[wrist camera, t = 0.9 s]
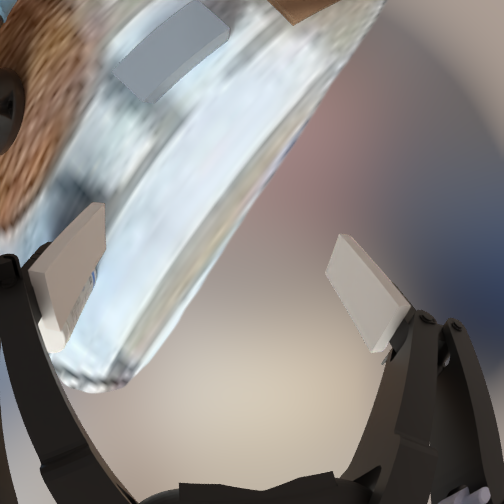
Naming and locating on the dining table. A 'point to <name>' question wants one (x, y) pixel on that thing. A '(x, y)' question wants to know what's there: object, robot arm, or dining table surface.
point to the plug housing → (171, 51)
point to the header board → (300, 8)
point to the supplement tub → (57, 339)
